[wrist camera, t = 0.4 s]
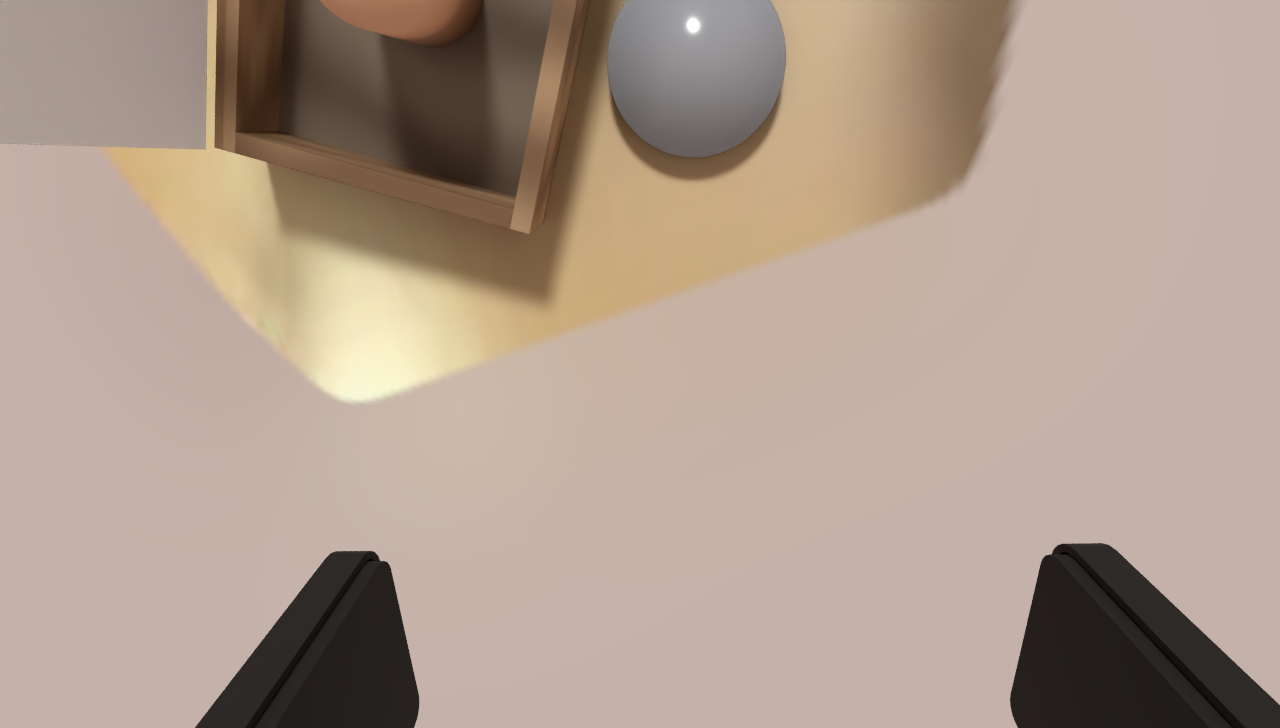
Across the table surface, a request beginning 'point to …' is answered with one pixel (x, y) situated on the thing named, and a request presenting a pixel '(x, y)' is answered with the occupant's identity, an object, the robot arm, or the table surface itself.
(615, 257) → the table surface
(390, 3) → the peach rounded knob
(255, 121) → the wooden box
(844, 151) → the table surface
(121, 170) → the table surface
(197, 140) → the lid
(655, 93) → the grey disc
